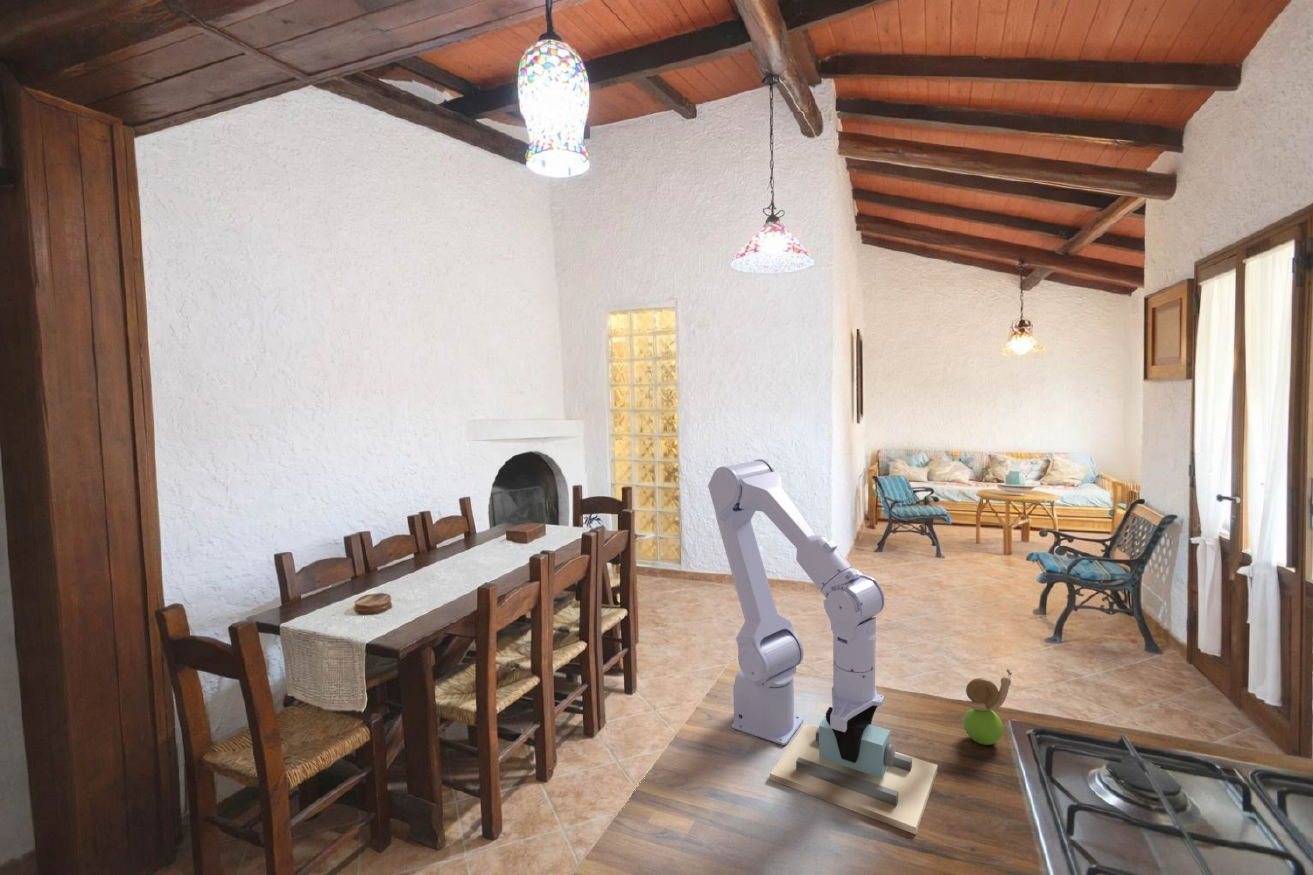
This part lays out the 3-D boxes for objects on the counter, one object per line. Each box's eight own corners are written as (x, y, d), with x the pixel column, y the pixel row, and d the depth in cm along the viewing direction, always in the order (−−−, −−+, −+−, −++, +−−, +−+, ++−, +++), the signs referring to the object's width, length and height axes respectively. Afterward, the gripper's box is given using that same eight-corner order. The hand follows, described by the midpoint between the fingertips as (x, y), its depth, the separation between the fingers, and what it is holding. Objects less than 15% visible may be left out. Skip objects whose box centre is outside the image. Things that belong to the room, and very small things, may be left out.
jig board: (770, 779, 91) (769, 763, 91) (805, 729, 102) (805, 714, 102) (915, 834, 80) (916, 816, 79) (937, 771, 91) (937, 755, 91)
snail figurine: (1014, 754, 94) (1017, 679, 92) (968, 750, 95) (970, 677, 94) (1002, 732, 99) (1005, 661, 98) (959, 729, 101) (960, 659, 99)
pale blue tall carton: (819, 757, 92) (818, 725, 91) (828, 742, 95) (828, 711, 94) (888, 780, 86) (888, 747, 85) (895, 764, 89) (896, 731, 89)
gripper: (868, 694, 80) (867, 790, 82) (896, 647, 92) (895, 732, 94) (814, 680, 84) (815, 772, 86) (848, 636, 96) (848, 718, 98)
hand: (853, 750), depth 90 cm, fingers closed on pale blue tall carton, 4 cm apart
